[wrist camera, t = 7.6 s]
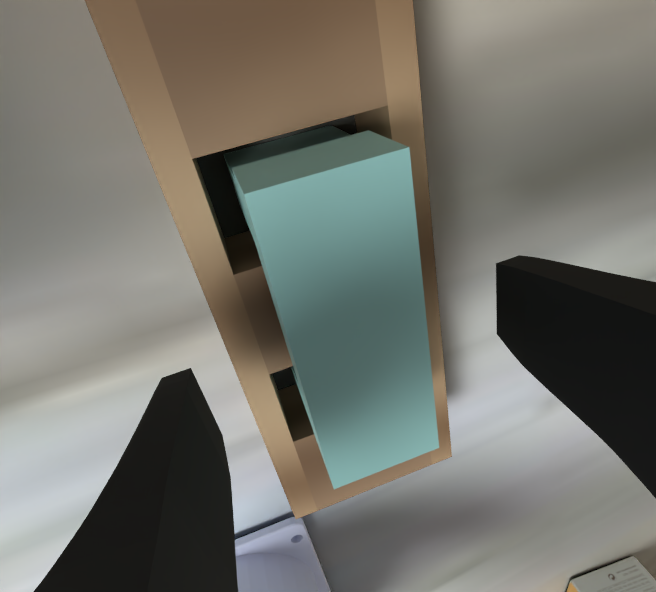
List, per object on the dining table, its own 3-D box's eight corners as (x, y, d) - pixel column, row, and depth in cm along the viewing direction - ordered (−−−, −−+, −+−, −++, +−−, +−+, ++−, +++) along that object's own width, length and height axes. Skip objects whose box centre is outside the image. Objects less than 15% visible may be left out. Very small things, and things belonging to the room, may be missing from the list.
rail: (420, 410, 19) (451, 456, 16) (281, 463, 18) (295, 519, 16) (356, -80, 10) (402, -114, 8) (90, -26, 9) (65, -47, 7)
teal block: (371, 345, 16) (439, 447, 12) (292, 372, 16) (334, 488, 12) (328, 113, 12) (408, 147, 8) (219, 142, 12) (244, 194, 7)
